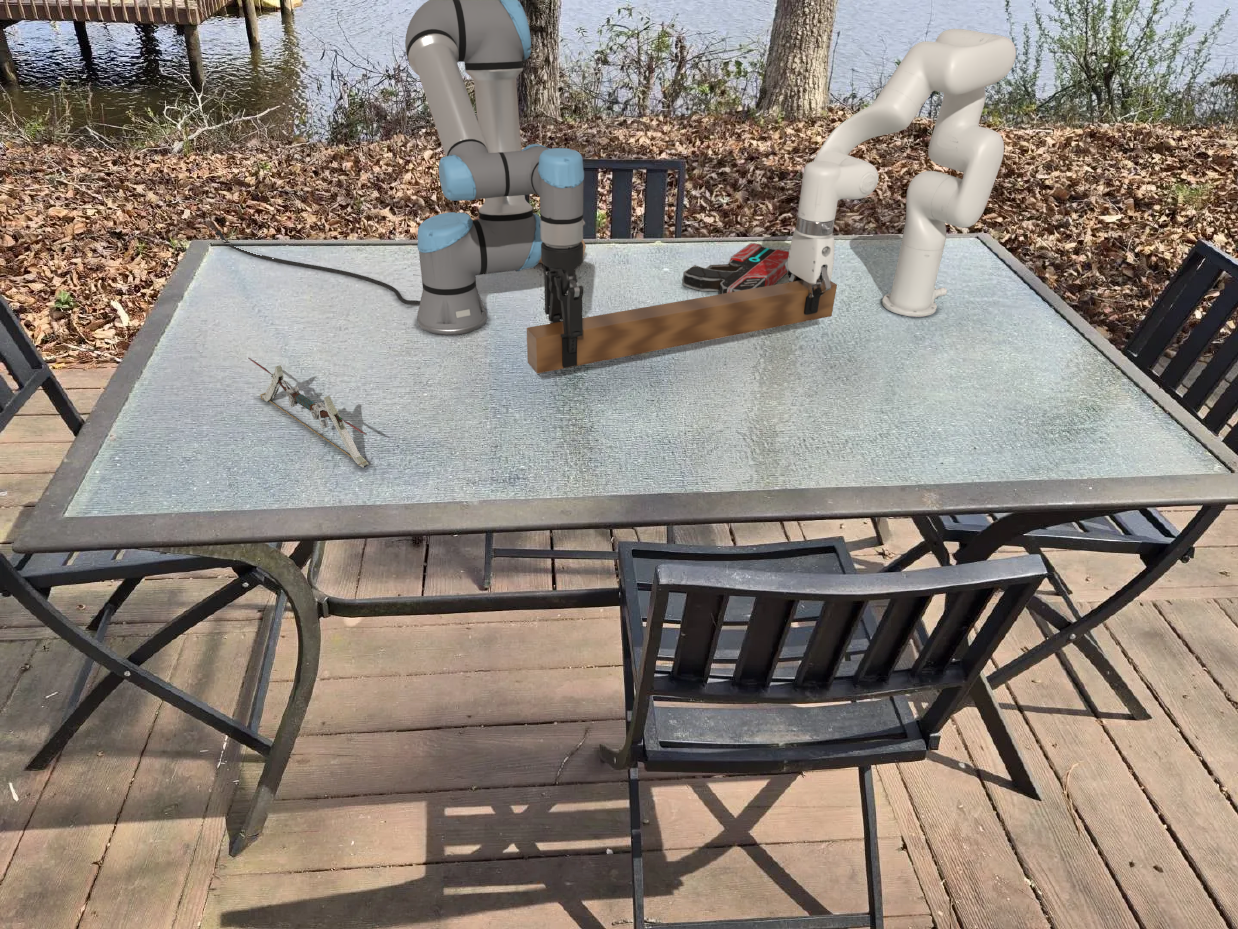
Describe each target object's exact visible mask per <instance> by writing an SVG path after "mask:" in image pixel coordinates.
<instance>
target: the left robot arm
mask: <svg viewBox="0 0 1238 929" xmlns="http://www.w3.org/2000/svg"><path fill="white" fill-rule="evenodd" d="M526 14H527V13H526V12H525V9H524V7H523V5H522V4H521V2H520V1H519V0H427V1H425V2H424V3H423V4H422V5H421V6H420V7H419V8H418V9H417V10H416V11H415V12H414V14H413V15H412V17H411V18H410V21H409V23H408V26H407V29H406V33H405V39H404V40H405V41H404V45H405V53H406V58H407V61H408V64H409V67H410V68H411V70H412V71H413V72H414V73H415V74H416V75H418V77H419V80H420V83H421V86H422V90H423V92H424V95H425V99H426V101H427V104H428V108H429V110H430V113H431V116H432V118H433V122H434V126H435V129H436V132H437V135H438V137H439V141H440V144H441V147H442V150H443V152H444V156H442V157H441V158H440V160H439V162H438V176H439V183H440V186H441V187H440V188H441V191H442V194H443V195H444V198H446V199H447V200H449V201H452V202H453V201H455V202H456V201H457V202H459V201H460V202H461V201H466V202H471V201H474V200H475V201H476V200H482V199H483V200H484V203H483V204H482V205H481V206H480V207H479V209H478V216H479V218H478V219H473V218H472V217H471V216H470V215H469V214H468V213H465V212H462V211H461V212H455V211H452V212H451V211H449V212H443V213H439V214H436V215H432V216H431V217H429V218H427V219H425V220H423V221H422V222H421V223H420V224H419V226H418V227H417V246H416V248H417V250H418V256H419V264H420V266H419V267H420V275H421V284H422V292H421V297H420V300H413V299H405V298H404V297H403V296H402V295H401V292H400V291H399V290H398V289H397V288H395V287H394V286H393V285H390V284H389V283H386V282H383V281H380V280H378V279H375V278H371V277H369V276H365V275H362V274H358V273H355V272H351V271H350V272H349V271H347V270H342V269H337V268H332V267H326V266H322V265H316V264H309V263H304V262H299V261H292V260H287V259H282V258H278V257H272V256H268V255H264V254H261V255H262V256H260V255H256V254H253V253H250V252H247V251H244V250H241V249H239V248H236V247H234V246H232V245H230V244H226V245H227V246H228V247H230V248H231V249H234V250H236V251H239V252H241V253H243V254H246V255H248V256H252V257H254V258H257V259H262V260H266V261H270V262H275V263H280V264H285V265H291V266H295V267H302V268H307V269H311V270H319V271H322V272H323V271H324V272H328V273H329V272H330V273H334V274H339V275H343V276H348V277H351V278H355V279H359V280H362V281H367V282H369V283H372V284H375V285H378V286H380V287H383V288H386V289H388V290H390V291H391V292H393V293H394V294H395V296H396V298H397V299H398V300H399V301H400V302H401V303H403V304H405V305H417V306H418V310H417V316H416V318H417V325H418V326H419V328H420V329H421V330H423V331H424V332H427V333H430V334H433V335H440V336H459V335H465V334H469V333H473V332H476V331H477V330H480V329H481V328H483V327H484V326H485V325H486V323H487V320H488V316H487V310H486V306H485V304H484V302H483V299H482V298H481V295H480V293H479V291H478V288H477V278H476V277H477V276H481V275H490V274H499V273H507V272H521V271H523V270H528V269H534V268H535V267H536V266H537V265H538V264H539V260H540V259H541V260H542V263H541V264H543V265H542V270H543V278H544V279H543V282H544V283H543V285H544V313H545V315H546V316H547V315H548V321H549V324H551V323H557V322H563V328H564V334H560V335H561V338H562V366H563V368H564V369H567V368H566V367H569V368H572V367H571V366H574V367H577V366H576V365H577V337H579V336H582V335H583V325H582V318H583V297H584V291H585V290H584V286H583V285H577V283H578V278H577V274H576V269H577V268H578V267H580V266H581V265H583V262H584V257H583V243H582V242H581V241H582V240H584V226H585V225H586V222H585V220H584V179H585V170H584V161H583V160H584V159H583V156H582V154H581V153H580V152H579V151H577V150H575V149H571V148H567V147H566V148H565V147H554V148H549V147H547V146H545V145H542V144H539V143H532V144H528V145H526V146H525V147H523V148H522V141H521V140H522V139H521V127H520V114H519V113H520V112H519V100H518V87H517V78H518V76H519V75H520V74H521V73H522V72H523V70H524V67H523V61H526V60H527V59H529V58H530V55H531V54H532V48H531V47H532V37H531V32H530V26H529V25H530V24H529V21H528V17H527V15H526ZM458 63H464V71H465V73H466V74H467V76H469V77H470V78H471V79H472V80H473V86H474V96H475V107H476V108H475V109H476V112H475V110H474V107H473V104H472V101H471V99H470V96H469V93H468V91H467V87H466V84H465V81H464V79H463V76H462V74H461V70H460V68H459V65H458ZM528 195H537V196H538V197H539V209H540V210H539V214H537V213H534V210H533V209H534V208H533V206H532V205H531V204H530V203H529V202H528V201H527V200H526V196H528ZM215 236H216V237H217V236H219V238H220V240H221V241H222V240H227V239H226V237H224V234H223V232H222V231H221V230H217V231H215ZM225 243H231V242H230V241H228V242H223V244H225ZM272 258H274V259H272Z"/></svg>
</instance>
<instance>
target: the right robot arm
mask: <svg viewBox="0 0 1238 929" xmlns="http://www.w3.org/2000/svg"><path fill="white" fill-rule="evenodd" d="M1016 57H1017V50H1016V45H1015V43H1014V42H1013V40H1011V39H1010V38H1009V37H1008V36H1003V35H1000V34H993V33H988V32H981V31H977V30H972V29H964V28H950V29H946V30H943V31H942V32H940V34H938V36H937V37H936V39H935V41H929V40H925V41H919V42H917V43H915V44H914V45H913V46H912V47H911V48H910V49H909V50H908V51H907V52H906V54H905V56H903V58H902V59H901V62H900V63H899V64H898V66H897V67H896V69H895V70H894V71H893V74H892V75H891V76H890V77H889V79H888V81H887V82H886V83H885V85H884V87H883V88H882V90H881V91H880V92H879V94H878V95H877V96H876V99H875V100H874V101H873V102H872V103H870V105H869V106H867V107H865V108H863V109H860V110H859V111H858V112H856V113H854V114H853V115H851V116H850V117H848V118H847V119H846V120H844V121H842V123H840V124H838V125H837V126H836V127H835V128H834V129H833V130H832V131H831V133H830V134H829V135H828V136H827V138H826V140H825V141H824V142H823V144H822V146H821V147H820V149H819V150H818V152H817V154H816V155H815V157H814V159H813V161H810V162H809V163H807V164H806V165H805V167H804V168H803V173H802V181H801V188H800V194H799V195H800V196H799V201H798V210H797V217H796V222H795V228H794V231H793V233H792V237H791V241H790V246H789V251H788V252H789V256H788V260H787V262H786V263H785V267H786V269H787V277H788V279H789V280H788V282H794V281H800V280H804V281H806V282H808V293H809V296H807V297H806V302H805V308H804V314H806V315H808V314H813V313H817V312H818V306H819V300H820V296H822V295H823V293H825V292H826V291H828V290H829V289H831V284H830V281H832V278H833V271H834V263H835V246H836V245H835V236H834V235H833V233H834V227H835V221H836V215H837V210H838V202H839V201H840V200H854V201H855V200H861V199H864V198H866V197H868V196H870V195H871V194H872V193H873V192H874V191H875V190H876V188H877V186H878V184H879V177H880V176H879V172H878V170H877V168H876V167H875V166H874V165H873V164H872V163H871V162H868V161H866V160H863V159H860V158H857V157H856V156H855V157H854V156H852V155H850V153H851V152H852V151H853V150H854V149H855V148H856V147H857V146H859V145H860V144H863V143H864V142H866V141H868V140H870V139H874V138H877V137H883V136H886V135H890V134H894V133H897V132H898V133H899V132H901V131H904V130H906V129H907V128H908V127H909V126H910V125H911V123H912V122H913V120H914V119H915V118H916V116H917V115H918V113H919V112H920V110H921V109H922V107H923V106H924V104H925V103H926V102H927V100H928V98H929V97H930V96H931V95H932V93H933V92H939V93H943V97H942V102H941V105H940V109H939V112H938V114H937V118H936V121H935V124H934V128H933V131H932V133H931V137H930V141H929V145H928V151H927V155H928V159H929V160H930V161H931V162H932V163H934V164H936V165H938V166H940V167H943V168H946V169H950V170H953V171H956V172H960V173H963V175H962V178H960V177H957V176H955V175H951V174H948V173H945V172H941V171H936V170H925V171H923V172H920V173H917V174H916V175H915V176H914V177H913V178H912V179H911V181H910V182H909V185H908V187H907V191H906V195H905V196H906V198H905V199H906V200H905V207H906V209H905V222H904V227H903V233H902V238H901V243H900V248H899V253H898V257H897V260H896V261H897V262H896V266H895V271H894V276H893V281H892V286H891V290H890V293H887V294H885V295H884V296H883V298H882V301H881V305H882V306H883V307H884V308H885V310H888V311H889V312H892V313H894V314H896V315H901V316H905V317H913V318H922V317H923V318H924V317H928V316H932V315H933V314H935V313H936V312H937V308H938V305H937V303H936V302H935V300H936V299H937V298H939V297H945V296H946V295H947V294H948V289H947V288H946V287H940V288H936V283H937V278H938V275H939V270H940V266H941V263H942V258H943V253H944V249H945V246H946V241H947V227H946V224H947V225H950V226H953V227H957V228H960V229H968V228H970V227H972V226H974V225H975V224H977V222H978V221H979V220H980V219H981V217H982V215H983V214H984V211H985V209H986V207H987V204H988V201H989V199H990V197H991V193H992V191H993V187H994V184H995V182H996V180H997V176H998V173H999V171H1000V167H1001V165H1002V162H1003V158H1004V153H1005V143H1004V139H1003V137H1002V136H1001V135H1002V134H1000V133H999V132H997V131H996V130H994V129H991V128H987V127H983V126H980V120H981V118H982V117H981V116H982V113H983V110H984V107H985V103H986V88H985V87H989V86H991V85H994V84H996V83H998V82H1001V81H1002V80H1003V79H1004V78H1005V77H1007V75H1008V74H1010V72H1011V70H1012V68H1013V67H1014V64H1015V61H1016V59H1017V58H1016ZM814 285H817V288H816V289H815V290H814Z"/></svg>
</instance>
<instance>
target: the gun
mask: <svg viewBox="0 0 1238 929" xmlns="http://www.w3.org/2000/svg"><path fill="white" fill-rule="evenodd" d="M788 256H789V251H787V250H783V249H778V248H777V249H774V248H770V247H765V246H763V244H760V243H756V242H750V243H748V244H747V245H746V246H744V247H742V248H741V249H740V250H738V251H737V252H736V253H734V254H733V255H731V256H730V258H729V261H728V263H725V264H724V263H723V264H722V263H721V264H719V263H718V264H709V265H708V266H707V267H702V266H699V265H696V264H694V265H692V266H691V267H689V268H687V269H686V270H684V271H683V274H682V285H683V286H684V287H687V288H690V289H693V290H697V291H700V292H701V291H702V292H718V295H719V294H724V293H730V292H736V291H742V290H748V289H753V288H759V287H765V286H771V285H776V284H777V283H778V282H779V281H780V280H781V279H782V278H783V277H784V276H785V275H787V274H788V272H787V269H786V267H785V263H786V262H787V260H788Z"/></svg>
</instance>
